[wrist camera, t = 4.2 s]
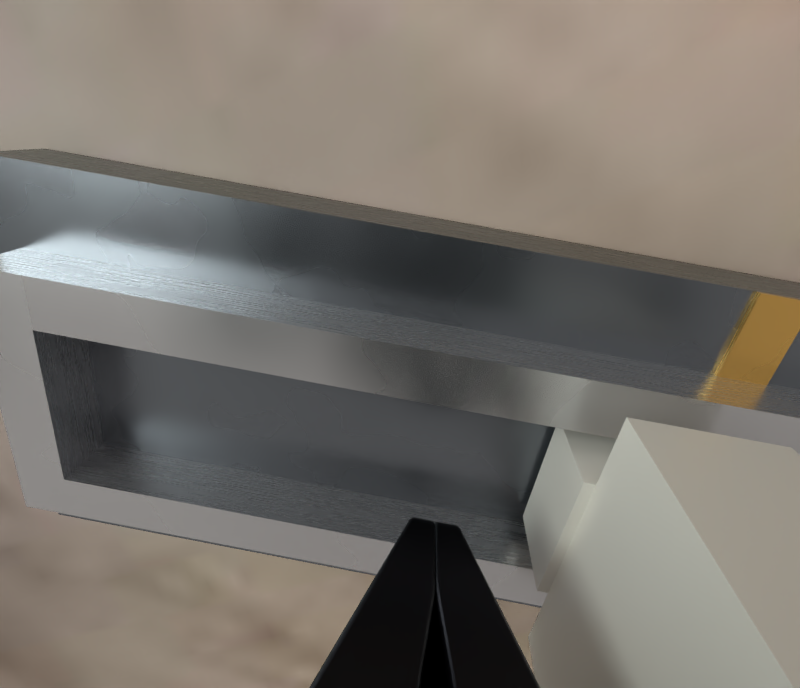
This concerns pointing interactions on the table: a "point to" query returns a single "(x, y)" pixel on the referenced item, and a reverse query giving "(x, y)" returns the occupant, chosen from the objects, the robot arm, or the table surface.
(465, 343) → the console
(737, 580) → the fader tab
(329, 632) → the table surface
